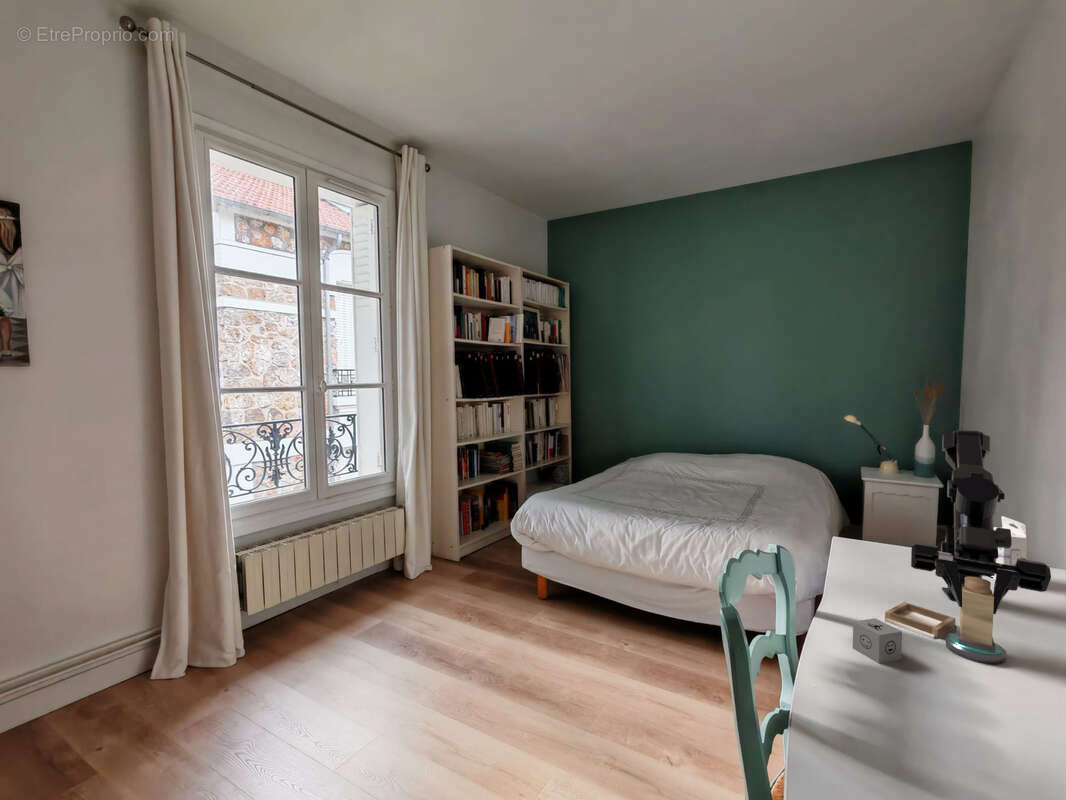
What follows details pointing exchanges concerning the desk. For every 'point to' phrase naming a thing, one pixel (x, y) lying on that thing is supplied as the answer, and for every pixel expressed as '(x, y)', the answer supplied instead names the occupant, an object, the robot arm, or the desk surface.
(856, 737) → the desk surface
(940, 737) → the desk surface
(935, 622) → the frame
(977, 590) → the stamp
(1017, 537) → the ink cartridge box
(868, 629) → the dice cube
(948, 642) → the pad
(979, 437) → the robot arm
